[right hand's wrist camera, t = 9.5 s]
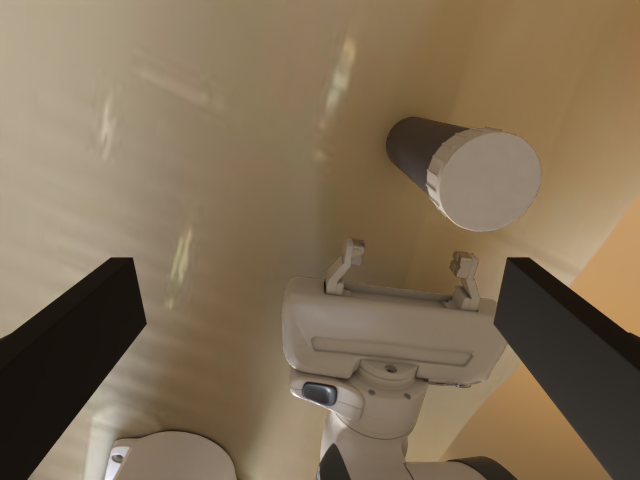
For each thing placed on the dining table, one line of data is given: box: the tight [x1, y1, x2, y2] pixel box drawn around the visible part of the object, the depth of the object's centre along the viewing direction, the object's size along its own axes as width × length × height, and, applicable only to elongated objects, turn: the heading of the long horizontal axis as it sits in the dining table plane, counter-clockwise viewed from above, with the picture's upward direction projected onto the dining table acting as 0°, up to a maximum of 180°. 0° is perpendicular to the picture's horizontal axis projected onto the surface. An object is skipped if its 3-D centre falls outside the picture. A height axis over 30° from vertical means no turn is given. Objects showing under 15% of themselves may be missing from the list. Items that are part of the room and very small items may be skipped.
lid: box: [426, 127, 541, 232], centre depth 19 cm, size 5×5×2 cm
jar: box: [386, 117, 469, 196], centre depth 25 cm, size 5×5×16 cm
